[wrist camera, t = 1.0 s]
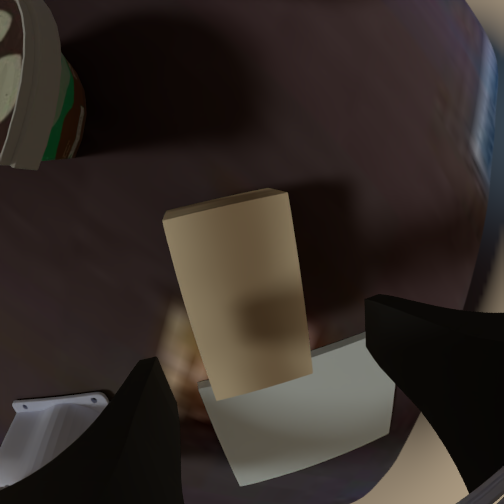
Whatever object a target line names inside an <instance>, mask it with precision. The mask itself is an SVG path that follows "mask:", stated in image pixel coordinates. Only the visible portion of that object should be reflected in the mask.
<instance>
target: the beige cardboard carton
mask: <svg viewBox="0 0 504 504" xmlns="http://www.w3.org/2000/svg"><path fill="white" fill-rule="evenodd" d="M162 222H163V226H164V230H165V234H166V238H167V242H168V246H169V249H170V253H171V257H172V261H173V264H174V268H175V272H176V275H177V279H178V283H179V286H180V290H181V293H182V296H183V300H184V303H185V307H186V310H187V313H188V317H189V320H190V323H191V326H192V330H193V333H194V336H195V339H196V342H197V345H198V348H199V352H200V355H201V358H202V361H203V364H204V367H205V370H206V372H207V375H208V378H209V381H210V384H211V387H212V390H213V393H214V395H215V398H216V401H219V400H223V399H227V398H231V397H235V396H239V395H243V394H246V393H250V392H254V391H257V390H261V389H264V388H268V387H271V386H275V385H278V384H281V383H284V382H288V381H291V380H294V379H297V378H300V377H303V376H306V375H309V374H312V373H313V368H312V359H311V351H310V342H309V334H308V326H307V318H306V310H305V303H304V295H303V288H302V281H301V274H300V267H299V260H298V253H297V247H296V240H295V234H294V228H293V221H292V215H291V209H290V203H289V197H288V192H284V191H279V190H275V189H271V188H265V189H260V190H255V191H250V192H246V193H241V194H236V195H232V196H227V197H223V198H218V199H214V200H209V201H205V202H201V203H196V204H192V205H188V206H184V207H180V208H175V209H171V210H167V211H166V213H165V215H164V218H163V220H162Z"/></svg>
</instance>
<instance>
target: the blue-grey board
mask: <svg viewBox="0 0 504 504" xmlns="http://www.w3.org/2000/svg"><path fill="white" fill-rule="evenodd" d="M311 359H312V368H313V373H312V374H309V375H306V376H303V377H300V378H297V379H294V380H291V381H288V382H284V383H281V384H278V385H275V386H271V387H268V388H264V389H261V390H257V391H254V392H250V393H246V394H243V395H239V396H235V397H231V398H227V399H223V400H219V401H216V398H215V395H214V393H213V390H212V387H211V384H210V381H209V380H205V381H201V382H197V383H198V390H199V392H200V395H201V398H202V400H203V403H204V405H205V408H206V410H207V413H208V415H209V418H210V420H211V422H212V425H213V427H214V430H215V432H216V434H217V437H218V439H219V441H220V444H221V446H222V448H223V450H224V453H225V455H226V457H227V459H228V462H229V464H230V466H231V468H232V470H233V473H234V475H235V477H236V479H237V481H238V483H239V485H240V486H245V485H249V484H253V483H257V482H261V481H264V480H268V479H272V478H275V477H279V476H282V475H285V474H289V473H292V472H295V471H298V470H301V469H304V468H307V467H310V466H313V465H316V464H318V463H321V462H324V461H326V460H329V459H332V458H334V457H337V456H339V455H342V454H344V453H347V452H349V451H351V450H354V449H356V448H358V447H361V446H363V445H365V444H367V443H370V442H372V441H374V440H376V439H378V438H380V437H382V436H385V435H387V434H389V429H390V422H391V415H392V408H393V400H394V391H395V383H394V382H393V381H392V380H391V379H390V378H389V376H388V375H387V374H386V373H385V372H384V371H383V370H382V369H381V368H380V367H379V365H378V364H377V363H376V361H375V360H374V359H373V357H372V356H371V354H370V353H369V351H368V350H367V348H366V332H363V333H360V334H358V335H355V336H352V337H350V338H347V339H344V340H341V341H338V342H336V343H333V344H330V345H327V346H324V347H321V348H318V349H315V350H312V351H311Z"/></svg>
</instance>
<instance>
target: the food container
mask: <svg viewBox="0 0 504 504" xmlns="http://www.w3.org/2000/svg"><path fill="white" fill-rule="evenodd" d="M86 116H87V111H86V100H85V90H84V88H83V86H82V84H81V81H80V79H79V77H78V74H77V72H76V71H75V70H74V69H73V67H72V66H71V65H70V63H69V62H68V61H67V59H66V58H65V57H64V55H63V54H62V53H61V44H60V39H59V34H58V29H57V25H56V22H55V20H54V18H53V15H52V13H51V10H50V9H49V8H48V6H47V5H46V4H45V3H44V1H43V0H0V153H1V154H0V165H10V166H12V167H13V168H20V169H29V170H38V168H39V165H40V162H41V161H47V160H57V159H68V158H75V156H76V153H77V151H78V148H79V146H80V144H81V141H82V138H83V132H84V126H85V121H86Z"/></svg>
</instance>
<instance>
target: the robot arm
mask: <svg viewBox="0 0 504 504" xmlns="http://www.w3.org/2000/svg"><path fill="white" fill-rule="evenodd" d="M365 332H366V348H367V350H368V351H369V353H370V354H371V356H372V357H373V359H374V360H375V361H376V363H377V364H378V365H379V367H380V368H381V369H382V370H383V371H384V372H385V373H386V374H387V375H388V376H389V378H390V379H391V380H392V381H393V382H394V383H395V384H396V385H397V386H398V387H399V388H400V389H401V390H402V391H403V392H404V393H405V394H406V395H407V396H408V397H409V399H410V400H411V401H412V402H413V403H414V404H415V405H416V406H417V407H418V408H419V410H420V411H421V412H422V413H423V415H424V416H425V417H426V419H427V420H428V422H429V423H430V424H431V426H432V427H433V429H434V430H435V431H436V433H437V435H438V436H439V438H440V439H441V441H442V442H443V444H444V446H445V447H446V449H447V450H448V452H449V454H450V456H451V458H452V459H453V461H454V463H455V465H456V466H457V469H458V471H459V473H460V475H461V477H462V478H463V481H464V483H465V485H466V487H467V490H468V492H469V495H467V496H466V497H465V498H463V499H462V500H461V501H459V502H458V503H456V504H493V503H494V502H495V501H497V500H498V499H499V498H500V497H501V496H502V495H503V494H504V313H483V312H471V311H462V310H455V309H450V308H444V307H439V306H434V305H429V304H425V303H420V302H416V301H412V300H407V299H403V298H399V297H394V296H389V295H382V294H378V295H375V296H372V297H369V298H367V299H365ZM93 398H95V399H97V400H94V399H93ZM12 406H13V408H14V409H15V411H16V412H17V414H16V416H15V418H14V420H13V422H12V424H11V426H10V428H9V430H8V432H7V434H6V436H5V439H4V441H3V443H2V445H1V447H0V504H184V500H183V494H182V485H181V453H180V423H179V416H178V409H177V402H176V400H175V398H174V396H173V393H172V391H171V389H170V386H169V384H168V382H167V379H166V377H165V375H164V372H163V370H162V367H161V365H160V363H159V360H158V358H157V357H153V358H148V359H143V360H140V361H139V362H138V363H137V364H136V366H135V367H134V369H133V370H132V371H131V373H130V374H129V376H128V377H127V379H126V380H125V382H124V383H123V384H122V386H121V387H120V389H119V390H118V391H117V393H116V394H115V396H114V397H113V398H112V400H111V401H110V402H109V400H108V398H107V396H106V395H105V394H104V393H102V392H93V393H86V394H78V395H70V396H61V397H52V398H41V399H29V400H15V401H14V402H13V404H12ZM497 504H504V497H503V498H502V499H501V500H500V501H499V502H498V503H497Z"/></svg>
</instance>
